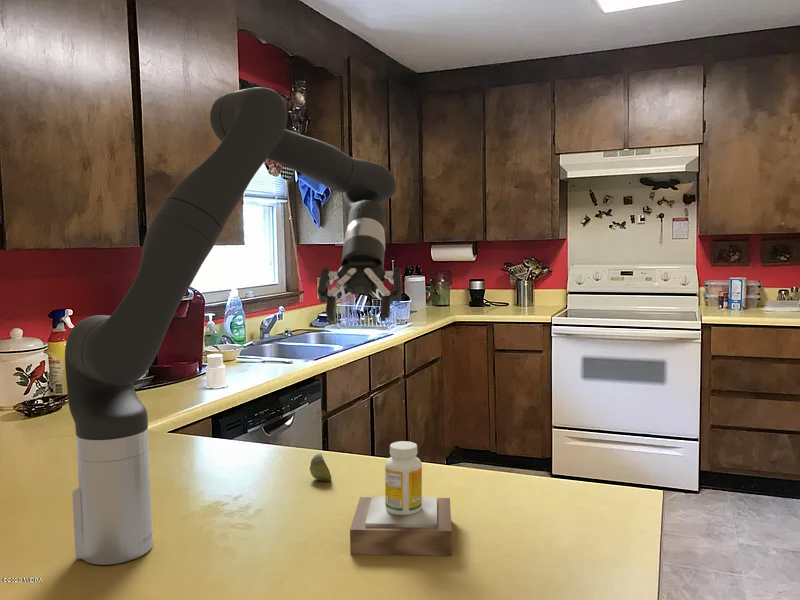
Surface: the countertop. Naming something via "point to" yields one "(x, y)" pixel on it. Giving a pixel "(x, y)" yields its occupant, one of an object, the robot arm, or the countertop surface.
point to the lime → (319, 468)
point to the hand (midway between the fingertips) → (357, 318)
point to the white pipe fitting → (215, 371)
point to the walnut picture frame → (402, 529)
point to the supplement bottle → (403, 479)
